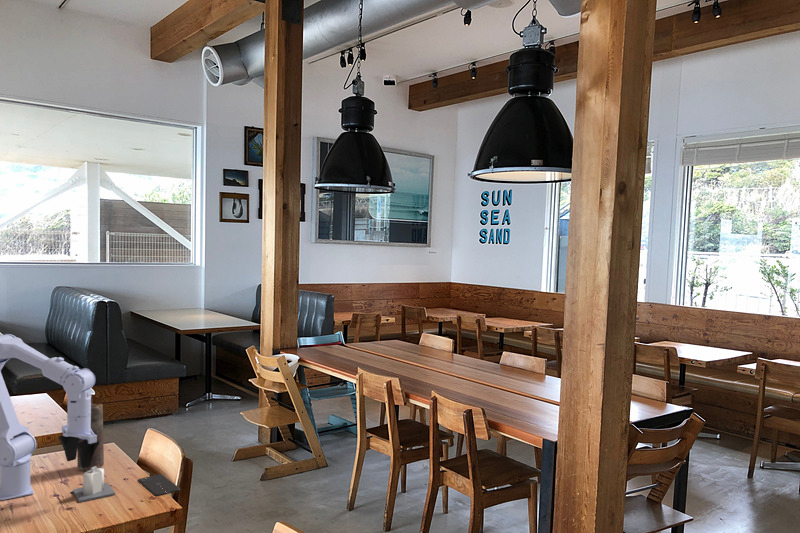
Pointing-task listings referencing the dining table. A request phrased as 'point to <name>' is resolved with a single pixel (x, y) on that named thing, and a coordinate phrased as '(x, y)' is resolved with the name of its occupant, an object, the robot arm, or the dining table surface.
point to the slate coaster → (101, 494)
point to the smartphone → (158, 485)
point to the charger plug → (93, 481)
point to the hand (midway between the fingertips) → (78, 463)
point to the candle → (97, 430)
